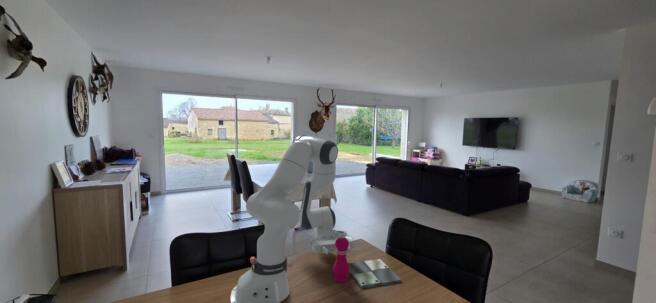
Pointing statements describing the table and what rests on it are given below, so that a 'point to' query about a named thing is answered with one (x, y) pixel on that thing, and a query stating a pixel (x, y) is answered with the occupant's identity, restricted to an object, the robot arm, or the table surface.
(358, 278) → the tile board
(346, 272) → the pepper mill
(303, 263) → the table surface
